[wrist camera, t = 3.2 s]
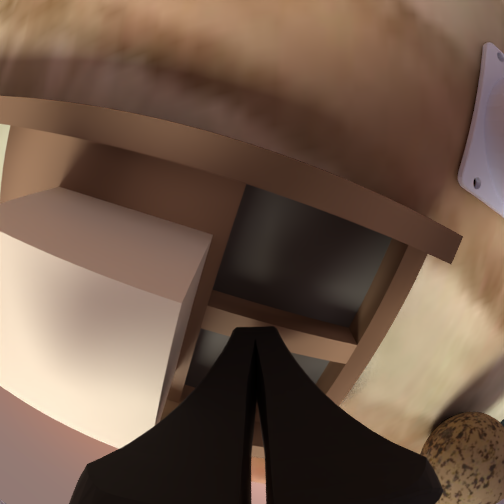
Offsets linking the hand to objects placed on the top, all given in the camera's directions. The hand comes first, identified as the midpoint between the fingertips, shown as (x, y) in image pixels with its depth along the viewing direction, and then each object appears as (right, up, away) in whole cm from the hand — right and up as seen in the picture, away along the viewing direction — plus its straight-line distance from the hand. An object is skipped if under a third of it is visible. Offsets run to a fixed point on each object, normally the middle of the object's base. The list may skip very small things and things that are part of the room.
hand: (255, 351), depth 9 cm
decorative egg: (+14, -10, +6) cm, 18 cm away
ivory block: (-5, +2, 0) cm, 6 cm away
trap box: (-7, +3, +2) cm, 7 cm away
